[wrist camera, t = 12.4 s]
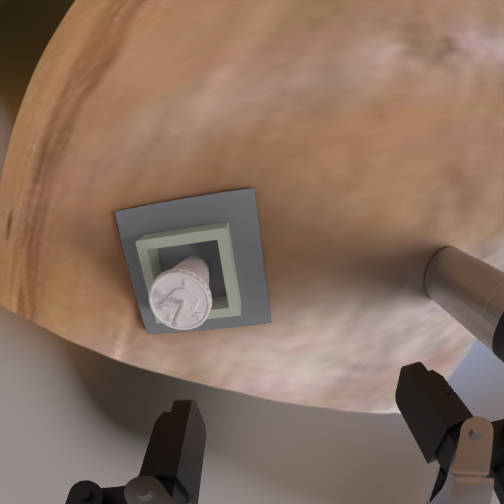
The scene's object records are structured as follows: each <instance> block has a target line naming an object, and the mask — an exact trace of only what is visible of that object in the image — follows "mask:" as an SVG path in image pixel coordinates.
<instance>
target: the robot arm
mask: <svg viewBox="0 0 504 504" xmlns="http://www.w3.org/2000/svg"><path fill="white" fill-rule="evenodd" d="M424 285H425V290H426V293H427V294H428V296H429V297H430V298H431V299H432V300H434V301H435V302H436V303H437V304H438V305H440V306H441V307H442V308H443V309H444V310H445V311H447V312H448V313H449V314H450V315H451V316H452V317H454V318H455V319H456V320H457V321H458V322H459V323H461V324H462V325H463V326H464V327H465V328H466V329H467V330H468V331H470V332H471V333H472V334H473V335H474V336H475V337H476V338H477V339H479V340H480V341H481V342H482V343H483V344H484V345H485V346H486V347H488V348H489V349H490V350H491V351H492V352H493V353H494V354H495V355H496V356H497V357H498V358H499V359H501V360H502V361H503V362H504V272H502V271H500V270H498V269H497V268H495V267H493V266H491V265H489V264H487V263H485V262H483V261H481V260H479V259H477V258H475V257H473V256H471V255H470V254H467V253H465V252H463V251H461V250H459V249H457V248H455V247H447V248H444V249H442V250H441V251H439V252H438V253H437V254H436V255H435V256H434V257H433V259H432V260H431V261H430V263H429V265H428V267H427V270H426V274H425V280H424ZM395 397H396V403H397V406H398V408H399V410H400V412H401V414H402V415H403V417H404V419H405V421H406V423H407V425H408V427H409V429H410V430H411V432H412V434H413V436H414V438H415V440H416V442H417V444H418V446H419V447H420V449H421V452H422V453H423V455H424V457H425V459H426V461H427V463H430V462H433V461H435V460H438V462H439V465H438V468H437V471H436V474H435V477H434V481H433V484H432V487H431V490H430V493H429V496H428V498H427V501H426V504H490V502H491V497H492V492H493V489H494V491H495V493H496V495H497V497H498V499H499V501H500V504H504V419H502V420H498V421H493V422H490V421H489V420H487V419H485V418H483V417H474V416H473V415H472V414H471V413H470V411H469V410H468V409H467V407H466V406H465V405H464V403H463V402H462V401H461V399H460V398H459V397H458V395H457V394H456V393H455V392H454V390H453V389H452V388H451V386H449V384H448V382H447V381H446V380H445V379H444V377H443V376H442V375H440V374H439V373H437V372H435V371H433V370H430V371H428V370H427V369H426V368H425V366H424V365H423V364H422V363H421V362H416V363H413V364H410V365H406V366H403V367H402V368H401V371H400V376H399V381H398V385H397V389H396V395H395ZM205 441H206V428H205V424H204V421H203V418H202V416H201V413H200V410H199V408H198V405H197V403H196V401H195V400H194V399H183V400H182V399H181V400H175V401H174V403H173V406H172V410H171V412H163V413H162V414H161V416H160V417H159V418H158V419H157V420H156V422H155V424H154V428H153V431H152V434H151V437H150V443H149V444H148V447H147V450H146V454H145V457H144V461H143V464H142V467H141V471H140V474H139V475H138V477H135V478H133V479H132V480H130V481H129V482H128V483H127V484H126V485H125V486H120V487H110V488H100V487H99V486H98V485H97V484H96V483H94V482H92V481H87V480H86V481H80V482H78V483H76V484H74V485H73V487H72V488H71V489H70V492H69V495H68V497H67V500H66V503H65V504H198V497H199V489H200V481H201V473H202V465H203V457H204V449H205Z"/></svg>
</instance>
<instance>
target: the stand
mask: <svg viewBox="0 0 504 504" xmlns="http://www.w3.org/2000/svg"><path fill="white" fill-rule="evenodd" d="M115 214H116V219H117V224H118V228H119V233H120V238H121V242H122V246H123V251H124V255H125V259H126V263H127V267H128V271H129V274H130V278H131V282H132V285H133V289H134V293H135V296H136V299H137V303H138V306H139V309H140V313H141V316H142V319H143V322H144V325H145V328H146V331H147V334H160V333H175V332H188V331H200V330H211V329H221V328H231V327H240V326H249V325H257V324H265V323H271V316H270V307H269V299H268V291H267V283H266V275H265V267H264V259H263V252H262V244H261V236H260V228H259V221H258V213H257V206H256V198H255V191H254V187H253V188H246V189H239V190H232V191H225V192H218V193H212V194H205V195H199V196H193V197H187V198H181V199H176V200H170V201H164V202H159V203H154V204H149V205H143V206H138V207H133V208H129V209H124V210H119V211H116V212H115ZM189 256H199V257H202V258H203V259H204V260H205V261H206V262H207V264H208V266H209V289H210V291H211V296H212V307H211V310H210V313H209V315H208V317H207V319H206V320H205V321H204V322H203V323H202V324H201V325H200V326H198V327H196V328H193V329H190V330H177V329H173V328H170V327H168V326H166V325H164V324H163V323H162V322H160V321H159V320H158V319H157V318H156V316H155V315H154V314H153V312H152V310H151V308H150V305H149V291H150V288H151V286H152V284H153V282H154V281H155V279H156V278H157V277H158V276H159V275H160V274H161V273H163V272H165V271H168V270H171V269H173V268H174V267H175V266H176V265H178V264H179V263H180V262H182V261H183V260H184V259H185V258H187V257H189Z"/></svg>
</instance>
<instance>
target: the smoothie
mask: <svg viewBox="0 0 504 504" xmlns="http://www.w3.org/2000/svg"><path fill="white" fill-rule="evenodd" d="M149 305H150V308H151V310H152V312H153V314H154V315H155V316H156V318H157V319H158V320H159V321H160V322H162V323H163V324H164V325H166V326H168V327H170V328H173V329H177V330H190V329H193V328H196V327H198V326H200V325H201V324H202V323H203V322H204V321H205V320H206V319H207V317H208V315H209V313H210V310H211V307H212V296H211V291H210V289H209V266H208V264H207V262H206V261H205V260H204V259H203V258H202V257H199V256H189V257H187V258H185V259H184V260H183V261H182V262H180V263H179V264H178V265H176V266H175V267H174V268H173V269H171V270H168V271H165V272H163V273H161V274H160V275H159V276H158V277H157V278H156V279H155V281H154V282H153V284H152V286H151V288H150V291H149Z"/></svg>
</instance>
